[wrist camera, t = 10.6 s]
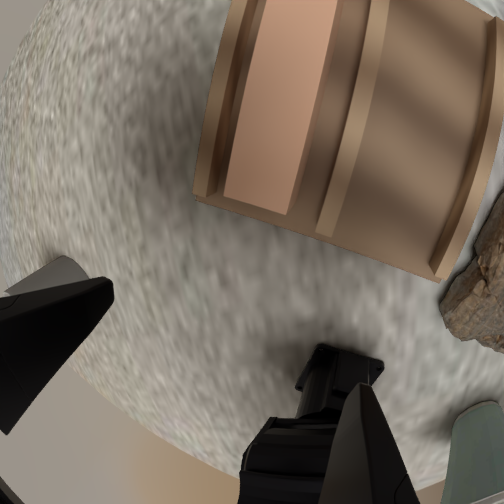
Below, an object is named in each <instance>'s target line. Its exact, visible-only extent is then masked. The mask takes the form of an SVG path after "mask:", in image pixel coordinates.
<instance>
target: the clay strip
mask: <svg viewBox="0 0 504 504" xmlns="http://www.w3.org/2000/svg"><path fill="white" fill-rule="evenodd" d="M343 4H344V0H267V1H266V5H265V9H264V12H263V16H262V20H261V24H260V28H259V32H258V36H257V40H256V44H255V48H254V52H253V56H252V60H251V64H250V69H249V73H248V77H247V82H246V86H245V91H244V95H243V100H242V104H241V109H240V113H239V118H238V123H237V128H236V133H235V138H234V142H233V148H232V153H231V158H230V163H229V168H228V173H227V179H226V184H225V190H224V195H223V196H225V197H229V198H232V199H235V200H239V201H242V202H245V203H249V204H252V205H255V206H258V207H262V208H265V209H268V210H271V211H274V212H277V213H281V214H284V215H287V213H288V212H289V211H290V209H291V208H292V207H293V206H294V204H295V203H296V201H297V197H298V193H299V190H300V186H301V182H302V178H303V175H304V171H305V167H306V163H307V159H308V156H309V152H310V148H311V144H312V140H313V136H314V132H315V128H316V124H317V120H318V116H319V112H320V108H321V104H322V99H323V95H324V91H325V87H326V83H327V78H328V74H329V70H330V65H331V61H332V56H333V52H334V47H335V43H336V38H337V33H338V29H339V24H340V19H341V14H342V9H343Z"/></svg>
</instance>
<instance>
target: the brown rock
mask: <svg viewBox="0 0 504 504" xmlns="http://www.w3.org/2000/svg"><path fill="white" fill-rule="evenodd" d="M474 247H475V249H476V253H477V256H476V257H475V258H474V259H473V260H472V263H471V264H470V265H469V266H468V268H467V269H466V271H465V272H463V273H462V274H460V275H458V276H457V277H456V279H455V280H454V282H453V283H452V285H451V287H450V289H449V291H448V292H447V294H446V296H445V297H444V299H443V301H442V302H441V304H440V309H439V310H440V312H441V314H442V317H443V321H444V323H445V326H446V329H447V328H449V331H450V332H451V334H452V335H453V336H455V337H457V338H459V339H460V340H461V341H468V340H472V339H476V340H477V341H478V342H479V343H480V344H481V345H482V346H484V347H490V348H492V349H493V350H494V351H496V352H501V353H504V192H503V193H502V194H501V195H500V197H499V199H498V200H497V202H496V204H495V205H494V207H493V209H492V211H491V214H490V216H489V218H488V220H487V222H486V223H485V225H484V226H483V227H482V229H481V231H480V234H479V237H478V239H477V241H476V242H475V244H474Z"/></svg>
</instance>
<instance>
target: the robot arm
mask: <svg viewBox="0 0 504 504" xmlns="http://www.w3.org/2000/svg"><path fill="white" fill-rule="evenodd" d="M113 302H114V289H113V282H112V281H111V280H110V279H108V278H106V277H103V276H102V277H97V278H92V279H88V280H83V281H78V282H73V283H69V284H64V285H59V286H54V287H50V288H45V289H40V290H35V291H31V292H26V293H22V294H17V295H12V296H7V297H2V298H0V430H1V431H2V432H3V433H4V434H5V435H8V434H9V433H10V431H11V430H12V428H13V427H14V426H15V424H16V423H17V422H18V420H19V419H20V418H21V416H22V415H23V414H24V412H25V411H26V410H27V408H28V407H29V406H30V405H31V403H32V402H33V401H34V399H35V398H36V397H37V395H38V394H39V393H40V392H41V390H42V389H43V388H44V387H45V386H46V384H47V383H48V382H49V381H50V379H51V378H52V377H53V376H54V375H55V373H56V372H57V371H58V370H59V369H60V368H61V366H62V365H63V364H64V363H65V362H66V361H67V359H68V358H69V357H70V356H71V355H72V354H73V352H74V351H75V350H76V349H77V348H78V347H79V346H80V344H81V343H82V342H83V341H84V340H85V339H86V338H87V337H88V336H89V334H90V333H91V332H92V331H93V329H94V328H95V327H96V325H97V324H98V323H99V321H100V320H101V319H102V317H103V316H104V315H105V313H106V312H107V311H108V309H109V308H110V307H111V305H112V304H113ZM319 349H323V350H319ZM377 367H379V368H377ZM383 371H384V363H383V362H380V361H377V360H373V359H370V358H366V357H363V356H360V355H356V354H353V353H350V352H347V351H344V350H340V349H337V348H334V347H331V346H328V345H325V344H318V345H317V346H316V347H315V349H314V351H313V353H312V355H311V357H310V359H309V361H308V363H307V365H306V366H305V368H304V370H303V372H302V374H301V375H300V377H299V379H298V381H297V383H296V385H295V389H296V390H298V391H301V392H303V393H302V396H301V400H300V404H299V407H298V410H297V414H296V417H295V418H277V417H270V418H269V419H268V421H267V422H266V424H265V425H264V426H263V428H262V429H261V430H260V432H259V433H258V434H257V436H256V437H255V438H254V440H253V441H252V442H251V443H250V445H249V446H248V448H247V449H246V451H245V452H244V454H243V459H242V464H241V470H240V472H239V476H240V495H239V499H238V503H237V504H420V502H419V500H418V498H417V496H416V493H415V490H414V488H413V485H412V483H411V480H410V477H409V475H408V474H407V470H406V467H405V465H404V462H403V460H402V457H401V455H400V452H399V450H398V447H397V445H396V442H395V440H394V437H393V435H392V432H391V430H390V428H389V425H388V423H387V421H386V418H385V416H384V414H383V411H382V409H381V407H380V404H379V402H378V400H377V398H376V395H375V393H374V391H373V389H372V387H371V386H372V384H373V383H374V382H375V381H376V379H377V378H378V377H379V376H380V374H381V373H382V372H383ZM0 504H24V503H23V502H22V501H21V499H20V498H19V497H18V496H17V495H16V494H15V493H14V492H13V491H12V490H11V489H10V488H9V486H8V485H7V484H6V483H5V482H4V480H3V479H2V478H1V477H0Z"/></svg>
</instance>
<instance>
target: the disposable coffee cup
mask: <svg viewBox="0 0 504 504" xmlns="http://www.w3.org/2000/svg"><path fill="white" fill-rule="evenodd" d="M441 504H504V413H503V411H502V408H501V407H500V406H499V405H498V403H496V402H494V401H486V402H481V403H479V404H476V405H474V406H472V407H470V408H468V409H467V410H465V411H464V412H463V413H461V414H460V415H459V416H458V417H457V419H456V420H455V422H454V426H453V428H452V435H451V446H450V454H449V462H448V469H447V475H446V480H445V486H444V490H443V495H442V499H441Z"/></svg>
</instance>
